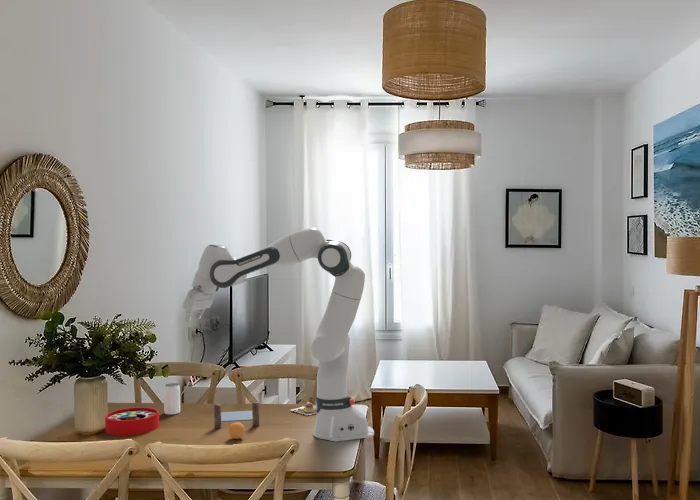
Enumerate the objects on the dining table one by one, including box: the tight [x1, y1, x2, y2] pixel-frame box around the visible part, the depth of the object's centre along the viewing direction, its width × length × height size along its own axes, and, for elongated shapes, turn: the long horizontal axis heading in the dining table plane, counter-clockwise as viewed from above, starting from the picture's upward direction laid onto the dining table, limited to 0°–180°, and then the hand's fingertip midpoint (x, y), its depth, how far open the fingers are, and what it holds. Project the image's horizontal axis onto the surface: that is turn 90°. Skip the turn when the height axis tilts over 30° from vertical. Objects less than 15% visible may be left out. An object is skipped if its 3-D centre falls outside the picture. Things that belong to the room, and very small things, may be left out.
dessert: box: [289, 401, 317, 417], centre depth 288 cm, size 12×12×5 cm
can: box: [163, 382, 181, 416], centre depth 287 cm, size 6×6×12 cm
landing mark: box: [221, 410, 253, 423], centre depth 281 cm, size 14×14×1 cm
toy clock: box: [104, 406, 160, 436], centre depth 266 cm, size 20×6×20 cm
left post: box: [213, 403, 222, 430], centre depth 264 cm, size 3×3×9 cm
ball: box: [227, 421, 246, 440], centre depth 249 cm, size 6×6×6 cm
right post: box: [251, 401, 260, 428], centre depth 266 cm, size 3×3×9 cm
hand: (192, 319), depth 258 cm, fingers open, 8 cm apart
